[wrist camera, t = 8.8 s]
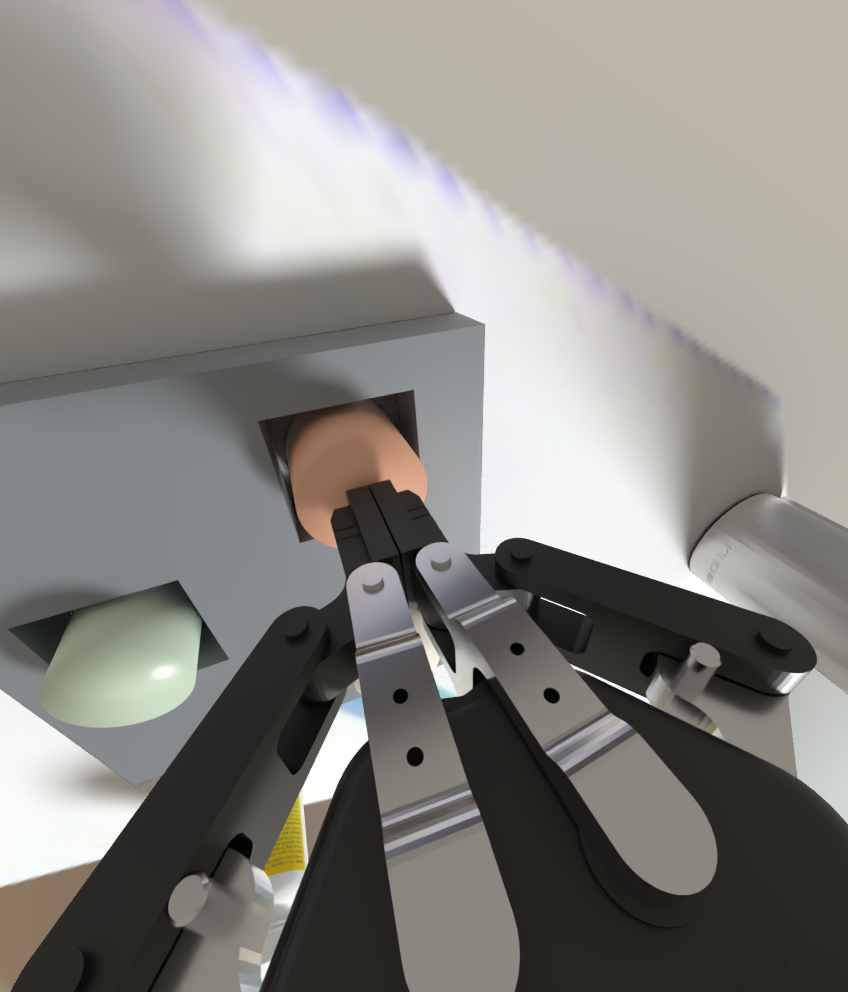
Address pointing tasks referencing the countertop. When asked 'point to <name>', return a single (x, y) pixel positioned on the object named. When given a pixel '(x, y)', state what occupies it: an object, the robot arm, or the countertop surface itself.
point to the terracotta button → (345, 461)
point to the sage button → (125, 659)
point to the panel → (207, 497)
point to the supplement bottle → (285, 875)
